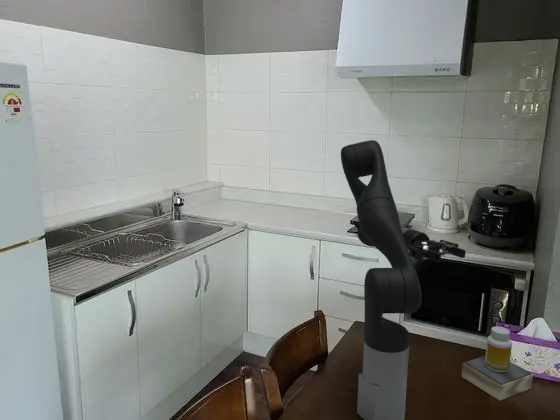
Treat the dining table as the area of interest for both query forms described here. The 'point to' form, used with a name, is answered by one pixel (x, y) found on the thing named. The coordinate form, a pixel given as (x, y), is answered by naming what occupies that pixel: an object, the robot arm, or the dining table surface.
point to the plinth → (497, 378)
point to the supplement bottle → (498, 350)
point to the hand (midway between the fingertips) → (452, 256)
